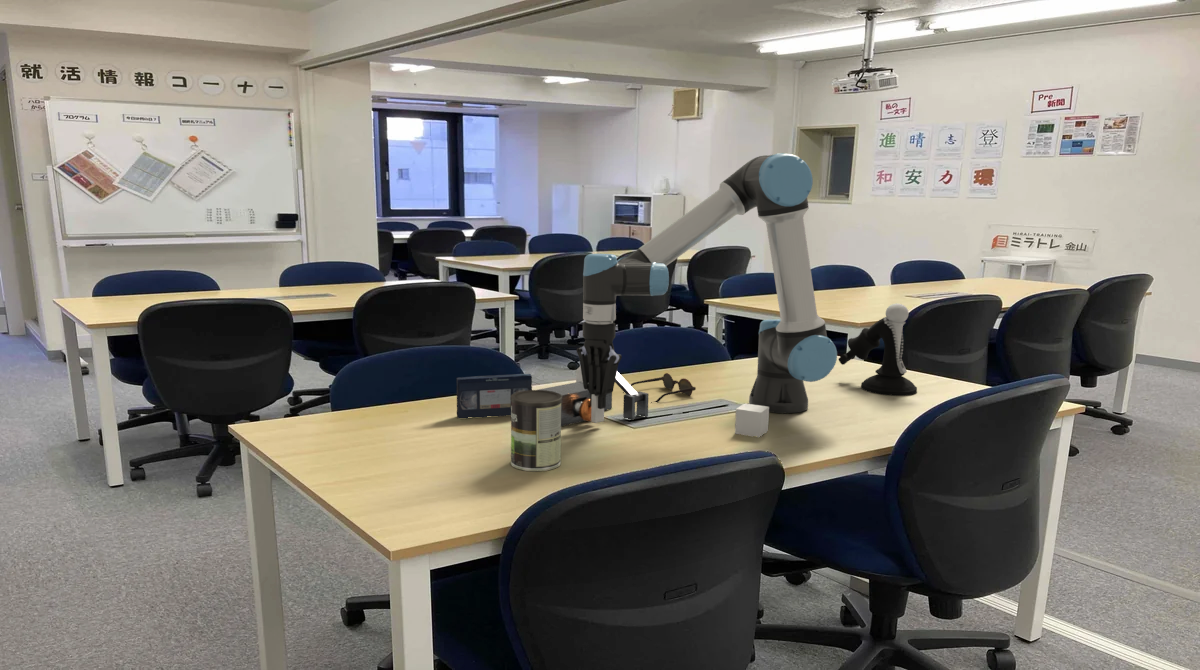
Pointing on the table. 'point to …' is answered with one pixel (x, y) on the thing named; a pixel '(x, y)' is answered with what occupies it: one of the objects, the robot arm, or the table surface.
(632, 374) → the table surface
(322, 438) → the table surface
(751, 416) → the white cube
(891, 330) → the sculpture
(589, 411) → the pin
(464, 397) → the vhs cassette tape
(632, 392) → the keeper
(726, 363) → the table surface
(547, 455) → the coffee can
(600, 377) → the robot arm
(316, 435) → the table surface
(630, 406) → the bracket
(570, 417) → the hitch block
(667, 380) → the eyeglasses
